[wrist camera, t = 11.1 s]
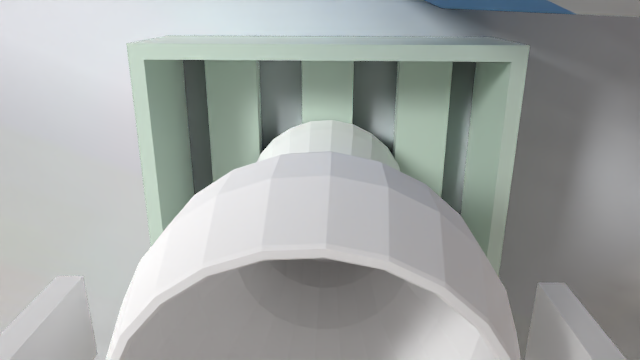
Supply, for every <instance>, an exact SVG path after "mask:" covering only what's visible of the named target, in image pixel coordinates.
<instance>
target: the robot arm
mask: <svg viewBox="0 0 640 360" xmlns="http://www.w3.org/2000/svg"><path fill="white" fill-rule="evenodd" d="M97 354H98V353H97V348H96V342H95V337H94V331H93V326H92V320H91V315H90V310H89V304H88V299H87V293H86V288H85V283H84V277H83V276H56V277H55V278H54V279H53V280H52V282H51V283H50V284H49V285H48V286H47V287H46V288H45V289H44V290H43V291H42V292H41V293H40V294H39V295H38V296H37V297H36V298H35V299H34V300H33V301H32V302H31V303H30V304H29V305H28V306H27V307H26V308H25V309H24V310H23V311H22V312H21V313H20V314H19V315H18V316H17V317H16V318H15V319H14V320H13V321H12V323H11V324H10V325H9V326H8V327H7V328H6V329H5V330H4V331H3V332H2V333H1V334H0V360H94V358H95V357H96V355H97ZM524 360H627V359H626V358H625V357H624V356H623V354H622V353H621V352H620V351H619V349H618V348H617V347H616V346H615V344H614V343H613V342H612V341H611V340H610V338H609V337H608V336H607V335H606V333H605V332H604V331H603V330H602V328H601V327H600V326H599V325H598V323H597V322H596V321H595V320H594V318H593V317H592V316H591V315H590V313H589V312H588V311H587V310H586V308H585V307H584V306H583V305H582V303H581V302H580V301H579V300H578V298H577V297H576V296H575V295H574V293H573V292H572V291H571V290H570V288H569V287H568V286H567V285H566V284H565V283H552V282H538V284H537V290H536V295H535V301H534V307H533V312H532V318H531V324H530V330H529V335H528V341H527V347H526V352H525V358H524Z"/></svg>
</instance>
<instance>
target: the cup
mask: <svg viewBox="0 0 640 360" xmlns="http://www.w3.org/2000/svg"><path fill="white" fill-rule="evenodd" d="M106 360H521V356H520V349H519V343H518V336H517V332H516V328H515V324H514V320H513V316H512V312H511V308H510V303H509V299H508V295H507V291H506V289H505V287H504V286H503V284H502V282H501V281H500V279H499V277H498V275H497V274H496V272H495V270H494V269H493V267H492V265H491V264H490V262H489V260H488V259H487V257H486V255H485V254H484V252H483V250H482V249H481V247H480V245H479V244H478V242H477V241H476V239H475V237H474V236H473V234H472V233H471V231H470V229H469V228H468V226H467V225H466V223H465V221H464V220H463V218H462V216H461V215H460V214H459V213H458V212H456V211H455V210H454V209H453V208H452V207H451V206H450V205H449V204H447V203H446V202H445V201H444V200H443V199H442V198H441V197H440V196H439V195H437V194H436V193H435V192H434V191H433V190H432V189H431V188H430V187H428V186H427V185H426V184H424V183H422V182H420V181H418V180H416V179H414V178H412V177H410V176H408V175H406V174H404V173H402V172H400V168H399V165H398V163H397V162H396V160H395V158H394V157H393V155H392V154H391V152H390V151H389V149H388V147H386V146H385V145H384V144H383V143H382V142H381V141H380V140H379V139H377V138H376V137H375V136H374V135H373V134H372V133H370V132H368V131H366V130H364V129H362V128H360V127H358V126H356V125H354V124H349V123H344V122H340V121H335V120H323V121H310V122H307V123H304V124H301V125H298V126H294V127H291V128H290V129H288V130H287V131H285V132H283V133H282V134H280V135H279V136H277V137H276V138H274V139H273V140H272V141H271V143H270V144H269V145H268V146H267V147H266V148H265V149H264V150H263V152H262V153H261V154H260V156H259V158H258V160H257V162H256V163H252V164H249V165H246V166H243V167H240V168H237V169H234V170H232V171H230V172H229V173H227V174H226V175H224V176H223V177H221V178H220V179H218V180H217V181H215V182H213V183H212V184H210V185H209V186H207V187H206V188H204V189H203V190H201V191H200V192H198V193H196V194H195V195H194V196H193V197H192V198H191V199H190V201H189V202H188V203H187V204H186V205H185V206H184V208H183V209H182V210H181V211H180V212H179V213H178V215H177V216H176V217H175V218H174V219H173V220H172V222H171V223H170V224H169V225H168V226H167V227H166V229H165V230H164V231H163V232H162V234H161V235H160V236H159V237H158V239H157V240H156V241H155V243H154V244H153V245H152V246H151V248H150V249H149V250H148V251H147V253H146V254H145V255H144V257H143V258H142V259H141V260H140V262H139V264H138V267H137V269H136V271H135V274H134V276H133V279H132V281H131V283H130V286H129V288H128V290H127V293H126V295H125V298H124V300H123V302H122V305H121V309H120V312H119V315H118V319H117V322H116V326H115V329H114V332H113V336H112V339H111V343H110V346H109V350H108V353H107V356H106Z"/></svg>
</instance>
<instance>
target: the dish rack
mask: <svg viewBox="0 0 640 360" xmlns="http://www.w3.org/2000/svg"><path fill="white" fill-rule="evenodd" d="M126 44H127V52H128V61H129V69H130V77H131V86H132V94H133V102H134V110H135V119H136V127H137V135H138V144H139V152H140V160H141V169H142V177H143V185H144V194H145V202H146V210H147V218H148V227H149V235H150V243H151V246H152V245H153V244H154V243H155V241H156V240H157V239H158V237H159V236H160V235H161V234H162V232H163V231H164V230H165V229H166V227H167V226H168V225H169V224H170V223H171V222H172V220H173V219H174V218H175V217H176V216H177V215H178V213H179V212H180V211H181V210H182V209H183V208H184V206H185V205H186V204H187V203H188V202H189V201H190V199H191V198H192V197H193V196H194V184H193V172H192V161H191V149H190V137H189V125H188V114H187V102H186V90H185V79H184V67H183V60H204V64H205V78H206V92H207V105H208V119H209V133H210V147H211V161H212V175H213V182H215V181H217V180H218V179H220V178H221V177H223V176H224V175H226V174H227V173H229V172H230V171H232V170H234V169H237V168H240V167H243V166H246V165H249V164H252V163H256V162H257V160H258V158H259V156H260V154H261V153H262V152H263V149H262V121H261V94H260V66H259V60H296V61H301V63H302V124H304V123H307V122H310V121H323V120H335V121H340V122H344V123H349V124H352V117H353V76H354V61H397V80H396V99H395V118H394V137H393V157H394V158H395V160H396V162H397V163H398V165H399V168H400V172H402V173H404V174H406V175H408V176H410V177H412V178H414V179H416V180H418V181H420V182H422V183H424V184H426V185H427V186H428V187H430V188H431V189H432V190H433V191H434V192H435V193H436V194H437V195H439V196H440V197H441V193H442V182H443V170H444V159H445V148H446V136H447V125H448V113H449V102H450V91H451V79H452V68H453V62H476V67H475V77H474V87H473V96H472V106H471V116H470V126H469V135H468V145H467V155H466V165H465V174H464V184H463V194H462V204H461V213H460V215H461V216H462V218H463V220H464V221H465V223H466V225H467V226H468V228H469V229H470V231H471V233H472V234H473V236H474V237H475V239H476V241H477V242H478V244H479V245H480V247H481V249H482V250H483V252H484V254H485V255H486V257H487V259H488V260H489V262H490V264H491V265H492V267H493V269H494V270H495V272H496V274H497V275H498V277H499V270H500V263H501V255H502V248H503V240H504V233H505V226H506V218H507V211H508V204H509V196H510V189H511V182H512V174H513V167H514V159H515V152H516V145H517V137H518V130H519V123H520V115H521V108H522V100H523V93H524V86H525V78H526V71H527V64H528V56H529V49H530V45H525V44H521V43H516V42H512V41H507V40H503V39H498V38H494V37H379V36H169V35H168V36H163V37H158V38H152V39H147V40H142V41H136V42H131V43H126Z"/></svg>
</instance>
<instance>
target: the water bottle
mask: <svg viewBox="0 0 640 360" xmlns="http://www.w3.org/2000/svg"><path fill="white" fill-rule="evenodd" d="M425 1H427V2H429V3H431V4H433V5H436V6H438V7H440V8H448V9H470V10H491V11H513V12H535V13H557V14H578V15H600V16H622V17H640V0H425Z"/></svg>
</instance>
